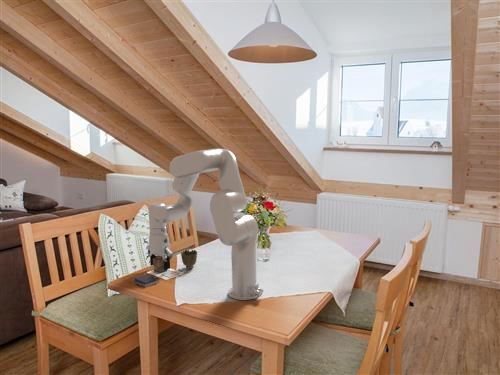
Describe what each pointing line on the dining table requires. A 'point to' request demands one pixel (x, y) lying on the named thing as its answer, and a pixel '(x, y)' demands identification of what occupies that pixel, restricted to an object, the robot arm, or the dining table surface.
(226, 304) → the dining table surface
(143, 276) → the ink pad
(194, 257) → the carved brown lampshade
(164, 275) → the sheet
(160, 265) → the stamp
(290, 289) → the dining table surface
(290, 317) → the dining table surface
